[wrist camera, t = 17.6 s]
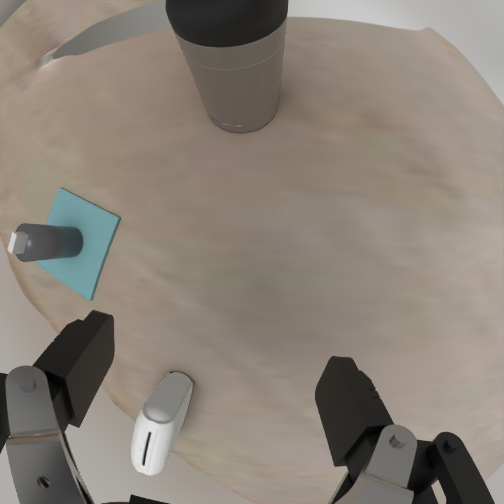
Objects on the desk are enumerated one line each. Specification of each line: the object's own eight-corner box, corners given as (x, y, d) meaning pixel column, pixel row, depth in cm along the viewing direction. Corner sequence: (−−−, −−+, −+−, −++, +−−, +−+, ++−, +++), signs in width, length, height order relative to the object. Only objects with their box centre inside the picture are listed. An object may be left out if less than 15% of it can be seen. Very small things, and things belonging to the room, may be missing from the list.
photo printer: (181, 432, 35) (157, 487, 22) (154, 421, 35) (122, 473, 23) (198, 377, 35) (172, 430, 22) (167, 366, 35) (130, 413, 22)
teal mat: (61, 188, 35) (59, 187, 34) (121, 218, 34) (118, 217, 34) (37, 262, 35) (35, 262, 34) (92, 300, 35) (89, 300, 34)
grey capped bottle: (67, 221, 34) (7, 216, 22) (87, 234, 34) (27, 232, 22) (57, 249, 34) (-2, 252, 22) (77, 262, 34) (18, 270, 22)
